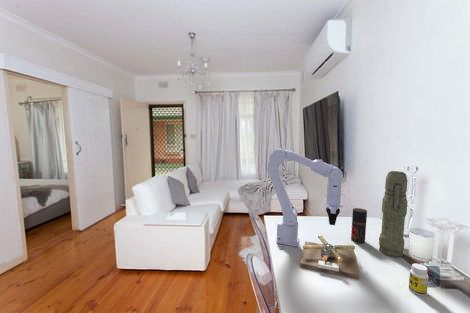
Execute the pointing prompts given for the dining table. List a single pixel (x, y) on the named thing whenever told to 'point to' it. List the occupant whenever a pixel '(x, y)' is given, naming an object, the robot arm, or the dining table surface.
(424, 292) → the supplement bottle
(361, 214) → the deodorant
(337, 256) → the capstan
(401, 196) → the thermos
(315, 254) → the stand board
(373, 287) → the dining table surface
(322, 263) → the frame
